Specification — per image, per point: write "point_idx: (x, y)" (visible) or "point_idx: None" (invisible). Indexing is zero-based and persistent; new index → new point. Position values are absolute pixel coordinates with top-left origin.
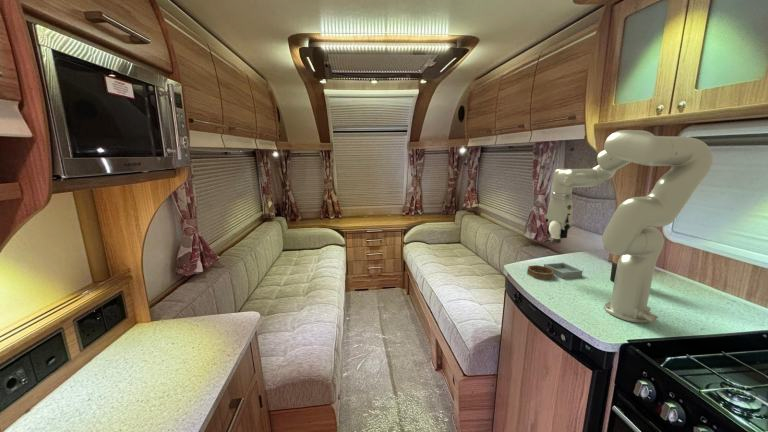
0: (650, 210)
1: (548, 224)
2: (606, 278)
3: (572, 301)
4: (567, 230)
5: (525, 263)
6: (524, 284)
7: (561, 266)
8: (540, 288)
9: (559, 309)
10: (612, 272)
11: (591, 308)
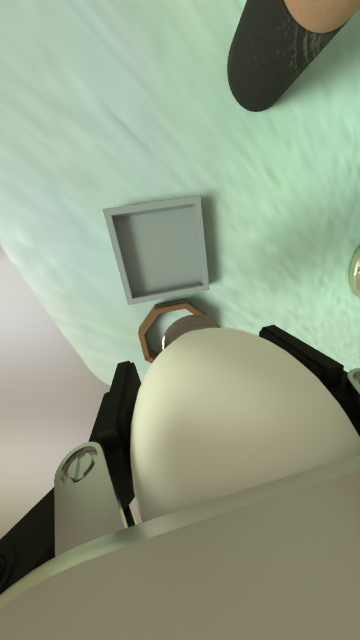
0: None
1: (130, 508)
2: (222, 104)
3: (312, 336)
4: (347, 374)
5: (76, 332)
6: None
7: (115, 225)
8: None
9: None
10: (268, 81)
11: (343, 318)
